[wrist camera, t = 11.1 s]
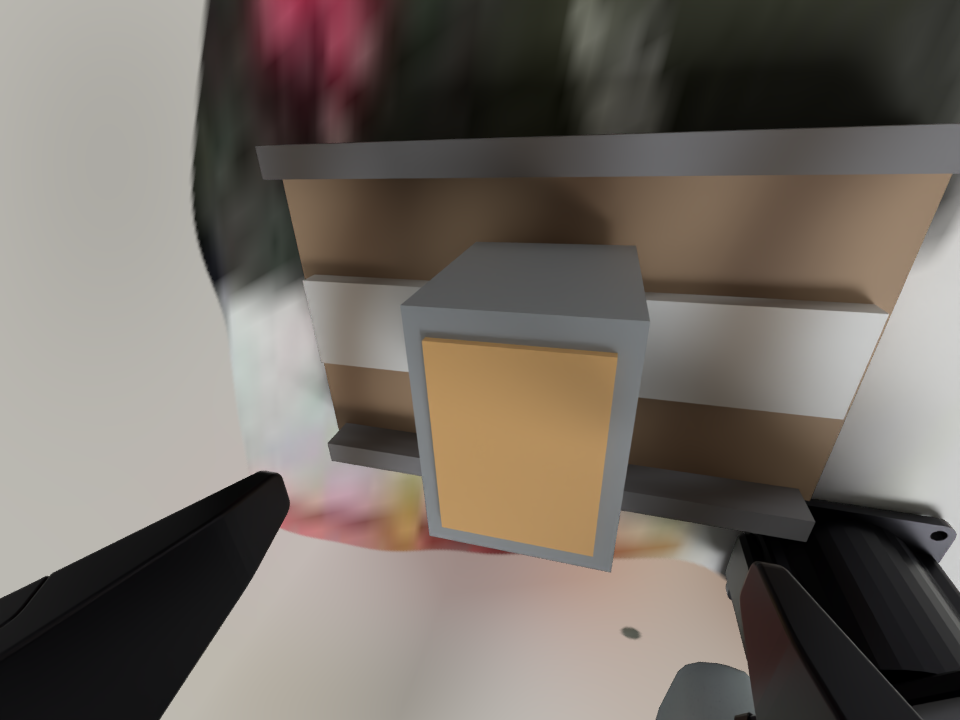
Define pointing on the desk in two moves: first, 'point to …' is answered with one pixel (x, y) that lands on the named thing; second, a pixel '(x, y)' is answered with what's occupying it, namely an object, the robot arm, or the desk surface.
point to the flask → (707, 693)
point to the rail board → (666, 279)
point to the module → (528, 395)
